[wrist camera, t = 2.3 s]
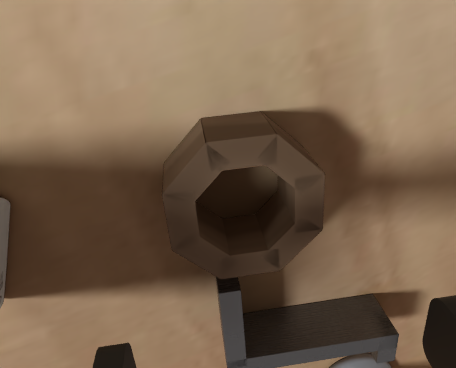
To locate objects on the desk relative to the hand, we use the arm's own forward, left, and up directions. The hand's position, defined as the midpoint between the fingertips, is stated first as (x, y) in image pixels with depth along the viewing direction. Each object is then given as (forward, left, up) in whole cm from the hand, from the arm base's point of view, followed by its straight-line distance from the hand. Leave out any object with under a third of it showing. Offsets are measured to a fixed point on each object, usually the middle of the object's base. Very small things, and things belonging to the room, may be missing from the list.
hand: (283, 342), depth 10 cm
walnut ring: (0, 0, -9) cm, 9 cm away
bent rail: (+7, +3, -9) cm, 12 cm away
